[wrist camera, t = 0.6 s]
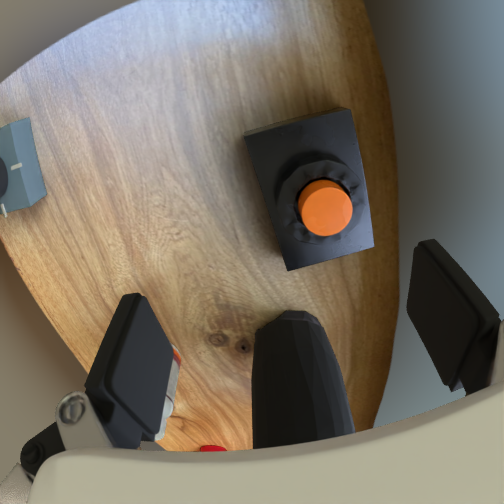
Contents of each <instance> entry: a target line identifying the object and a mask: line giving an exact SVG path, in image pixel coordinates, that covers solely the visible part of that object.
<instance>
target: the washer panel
mask: <svg viewBox="0 0 504 504" xmlns="http://www.w3.org/2000/svg"><path fill="white" fill-rule="evenodd" d="M0 157H1V158H2V160H3V161H4V163H5V166H6V168H7V172H8V186H7V190H6V192H5V194H4V195H3V196H2V197H0V214H4V217H5V218H6V217H7V214H6V213H7V212H11V211H15V210H19V209H23V208H27V207H31V206H32V205H33V204H35V203H36V202H37V201H39V200H40V199H41V198H43V197H44V196H45V195H47V192H46V188H45V185H44V181H43V177H42V174H41V170H40V166H39V162H38V157H37V153H36V148H35V144H34V139H33V134H32V129H31V123H30V118H29V117H28V118H25V119H22V120H18V121H15V122H12V123H9V124H7V125H5V126H3V127H1V128H0Z"/></svg>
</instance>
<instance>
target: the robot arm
mask: <svg viewBox="0 0 504 504" xmlns="http://www.w3.org/2000/svg"><path fill="white" fill-rule="evenodd" d="M407 313H408V315H409V317H410V319H411V321H412V323H413V324H414V326H415V328H416V330H417V332H418V334H419V336H420V338H421V340H422V342H423V343H424V345H425V347H426V349H427V351H428V353H429V355H430V357H431V359H432V361H433V363H434V365H435V367H436V369H437V372H438V373H439V376H440V378H441V380H442V382H443V384H444V385H446V386H447V385H448V386H449V388H450V390H451V392H453V391H456V390H458V389H460V388H463V387H464V389H465V391H466V395H465V397H463V398H461V399H459V400H456V401H453V402H451V403H448V404H446V405H443V406H440V407H438V408H435V409H433V410H430V411H427V412H424V413H422V414H419V415H416V416H413V417H410V418H407V419H404V420H401V421H397V422H394V423H391V424H387V425H384V426H380V427H377V428H373V429H369V430H365V431H361V432H357V433H353V434H348V435H344V436H339V437H335V438H330V439H324V440H319V441H313V442H308V443H301V444H295V445H288V446H280V447H271V448H262V449H250V450H236V451H214V452H176V451H149V450H141V448H140V441H152V442H154V441H155V435H156V434H158V433H159V431H160V426H161V420H162V415H163V409H164V404H165V398H166V393H167V387H168V382H169V377H170V372H171V367H172V362H173V357H174V351H173V347H172V345H171V343H170V341H169V340H168V338H167V336H166V334H165V332H164V331H163V329H162V327H161V325H160V323H159V321H158V319H157V318H156V316H155V314H154V312H153V310H152V308H151V306H150V304H149V302H148V300H147V298H146V297H145V296H142V295H141V294H140V293H132V294H126V295H123V296H122V298H121V300H120V302H119V305H118V307H117V309H116V311H115V313H114V315H113V318H112V320H111V322H110V324H109V327H108V329H107V331H106V333H105V336H104V338H103V340H102V343H101V345H100V348H99V350H98V352H97V355H96V357H95V360H94V362H93V365H92V367H91V370H90V372H89V375H88V378H87V380H86V383H85V387H86V391H85V393H83V392H80V391H74V392H71V393H69V394H67V395H66V396H64V397H63V398H62V399H61V400H60V402H59V403H58V405H57V407H56V412H55V417H56V422H54V423H53V424H52V425H50V426H49V427H47V428H46V429H44V430H43V431H42V432H40V433H39V434H37V435H36V436H35V437H33V438H32V439H30V440H29V441H28V442H27V443H26V444H25V445H24V447H23V448H22V451H21V456H20V460H21V464H19V463H17V464H16V465H15V466H14V468H13V469H12V470H11V471H10V473H9V474H8V475H7V476H6V478H5V479H4V480H3V481H2V483H1V484H0V504H504V320H503V321H501V320H500V319H499V313H498V312H497V311H496V309H495V308H494V307H493V305H492V304H491V303H490V302H489V300H488V299H487V298H486V297H485V295H484V294H483V293H482V292H481V290H480V289H479V288H478V287H477V286H476V284H475V283H474V282H473V281H472V280H471V278H470V277H469V276H468V275H467V274H466V272H465V271H464V270H463V269H462V268H461V267H460V266H459V264H458V263H457V262H456V261H455V260H454V259H453V258H452V257H451V256H450V255H449V253H448V252H446V250H445V249H444V248H443V247H442V246H441V245H440V244H439V243H438V242H437V241H436V240H435V239H430V240H425V241H421V242H419V243H418V246H417V247H415V248H414V253H413V263H412V272H411V279H410V287H409V293H408V299H407Z"/></svg>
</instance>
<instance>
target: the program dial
mask: <svg viewBox="0 0 504 504" xmlns="http://www.w3.org/2000/svg"><path fill="white" fill-rule="evenodd" d="M7 186H8V172H7V168H6V166H5V163H4V161H3V160H2V158H1V157H0V197H2V196H3V195H4V194H5V192H6V190H7Z"/></svg>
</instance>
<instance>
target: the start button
mask: <svg viewBox="0 0 504 504" xmlns="http://www.w3.org/2000/svg"><path fill="white" fill-rule="evenodd" d="M298 210H299V213H300V215H301V218H302V221H303V223H304V225H305V226H306V228H307V229H308V230H309V231H311V232H312V233H314V234H317V235H320V236H330V235H333V234H336V233H338V232H340V231H341V230H343V229H344V228H345V227H346V226H347V224H348V223H349V221H350V219H351V216H352V203H351V200H350V198H349V197H348V196H347V194H346V193H345V192H344V191H343V190H342V188H341V187H340V186H339V185H338V184H336V183H335V182H333V181H330V180H317V181H314V182H312V183H310V184H309V185H307V186H306V187H305V188H304V189H303V191H302V192H301V194H300V196H299V199H298Z"/></svg>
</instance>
